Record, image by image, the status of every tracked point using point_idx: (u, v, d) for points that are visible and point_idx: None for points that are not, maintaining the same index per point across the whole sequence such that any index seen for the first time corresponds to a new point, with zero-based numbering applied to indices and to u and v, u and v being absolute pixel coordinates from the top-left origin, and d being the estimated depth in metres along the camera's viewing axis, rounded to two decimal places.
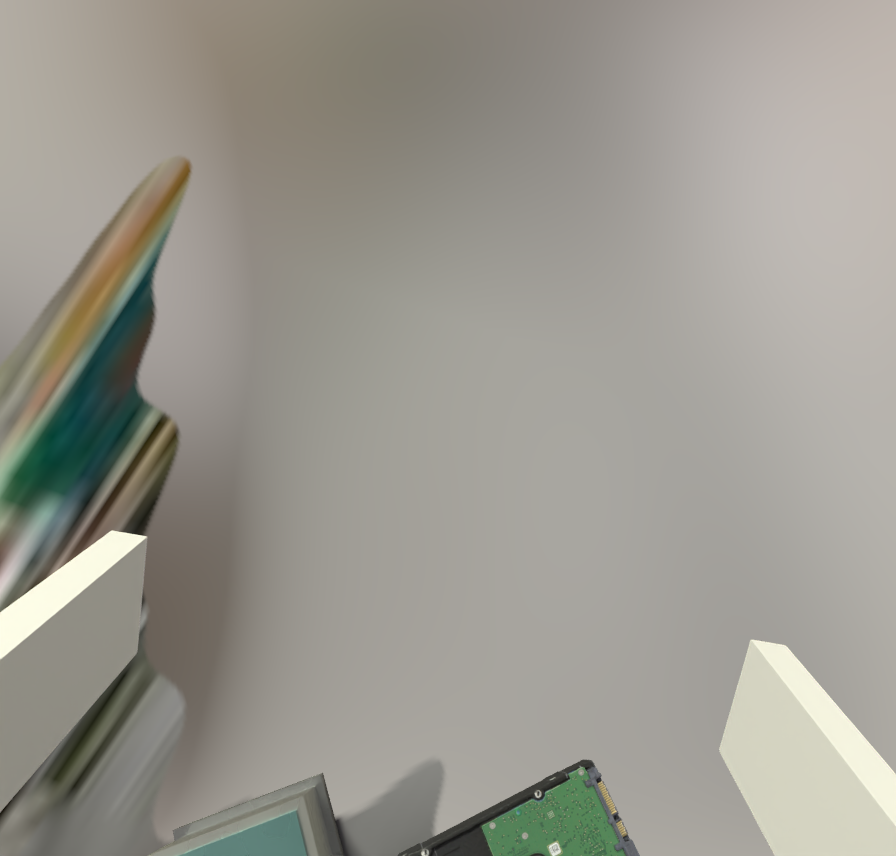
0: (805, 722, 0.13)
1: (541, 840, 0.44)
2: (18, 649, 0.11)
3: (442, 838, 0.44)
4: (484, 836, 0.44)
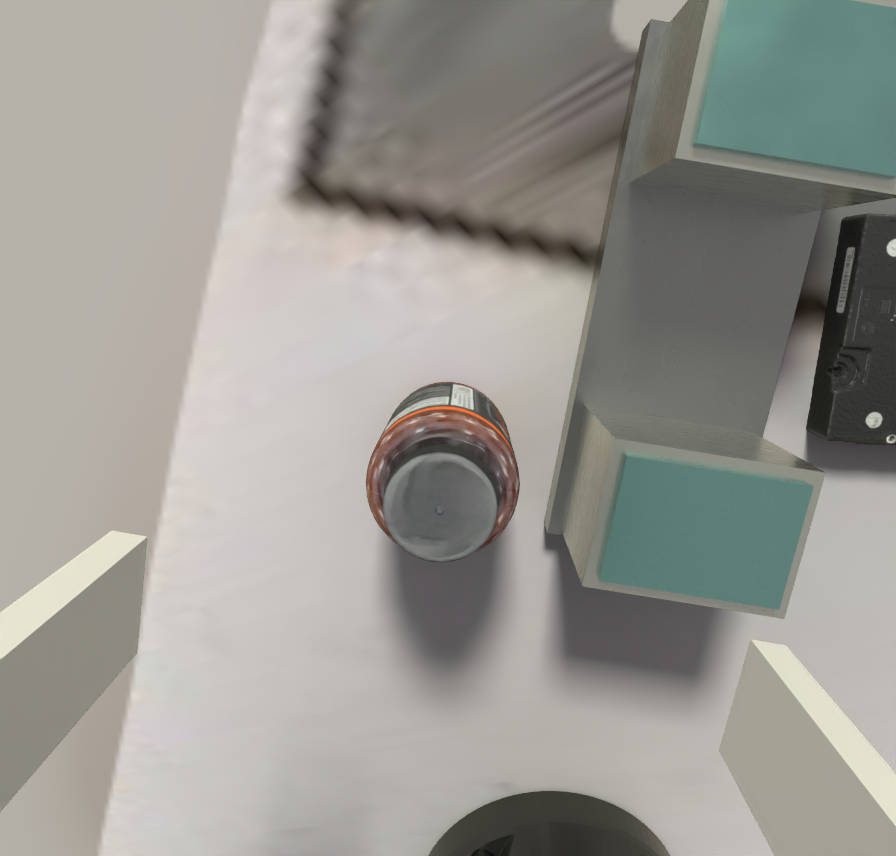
0: (805, 722, 0.13)
1: None
2: (18, 649, 0.11)
3: None
4: None
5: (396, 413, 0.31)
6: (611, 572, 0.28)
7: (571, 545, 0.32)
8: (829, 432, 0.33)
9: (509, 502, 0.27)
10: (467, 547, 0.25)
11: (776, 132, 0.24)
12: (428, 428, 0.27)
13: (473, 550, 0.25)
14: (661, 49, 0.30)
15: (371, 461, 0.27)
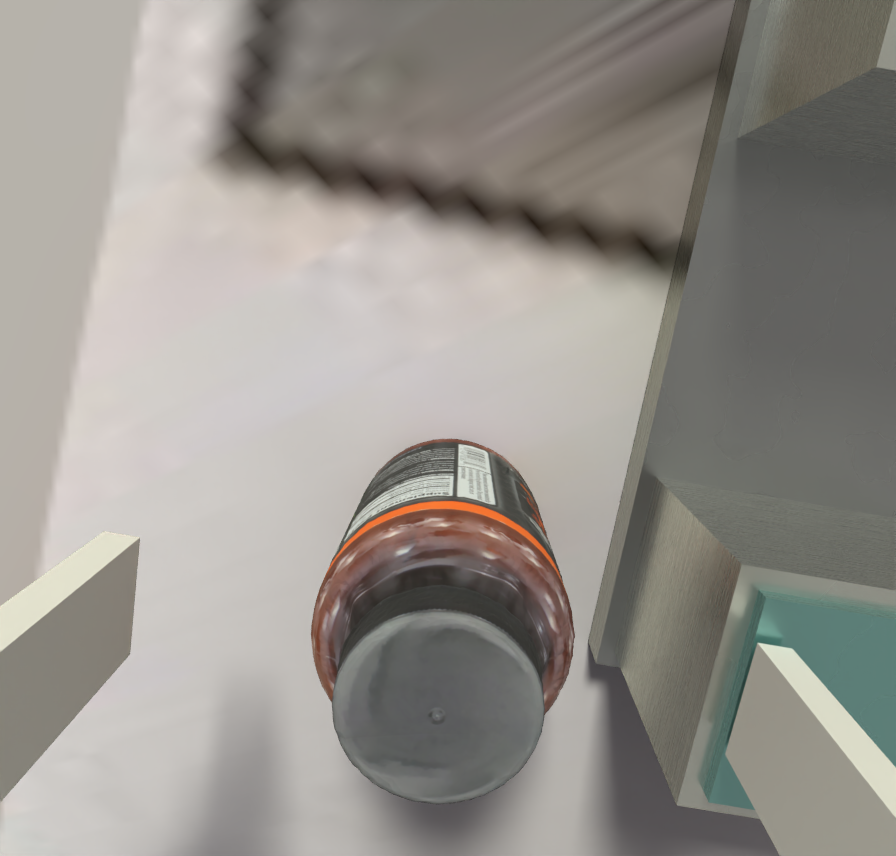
0: (814, 727, 0.13)
1: None
2: (6, 652, 0.11)
3: None
4: None
5: (369, 496, 0.20)
6: (729, 789, 0.16)
7: (643, 705, 0.20)
8: None
9: (558, 673, 0.16)
10: (487, 780, 0.14)
11: None
12: (418, 548, 0.15)
13: (498, 785, 0.14)
14: None
15: (319, 598, 0.16)
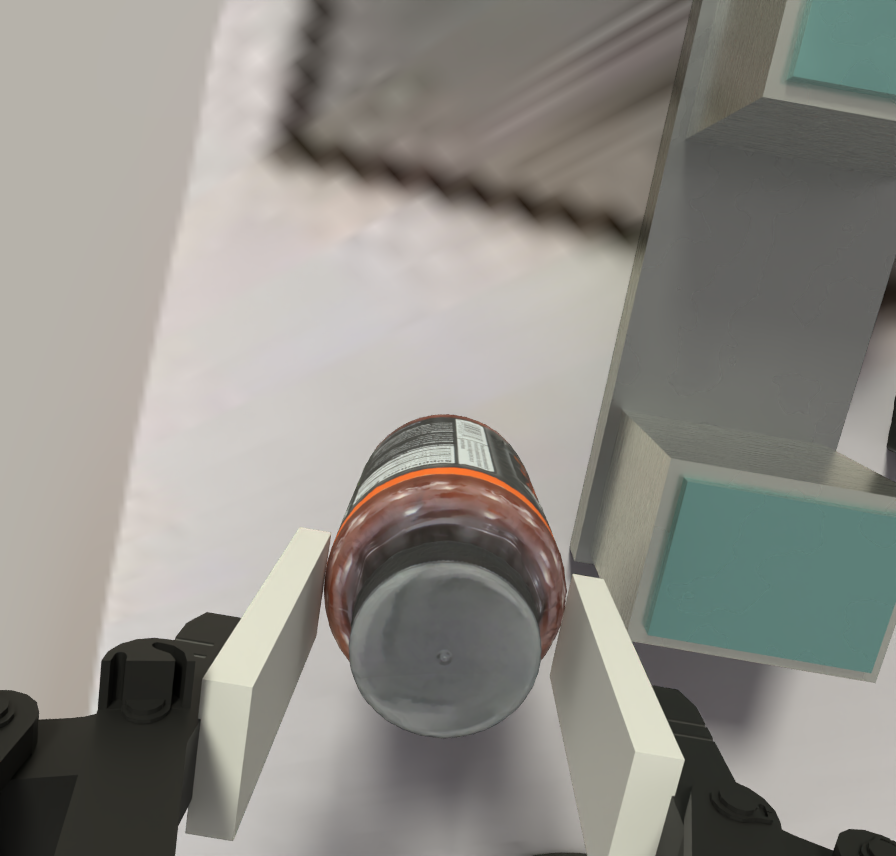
0: (589, 635, 0.15)
1: None
2: (284, 626, 0.13)
3: None
4: None
5: (373, 466, 0.21)
6: (663, 625, 0.22)
7: (607, 582, 0.26)
8: None
9: (552, 624, 0.17)
10: (489, 716, 0.15)
11: None
12: (425, 508, 0.16)
13: (499, 720, 0.15)
14: None
15: (332, 556, 0.17)
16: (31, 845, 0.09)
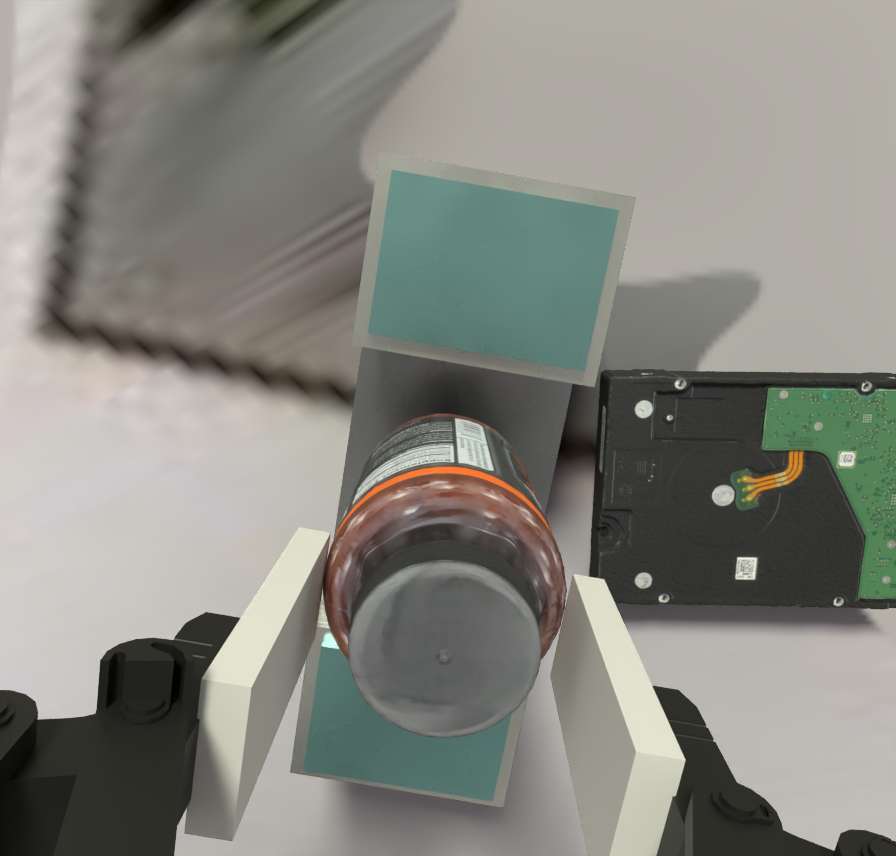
0: (590, 635, 0.15)
1: (836, 442, 0.30)
2: (284, 626, 0.13)
3: (710, 377, 0.30)
4: (764, 400, 0.30)
5: (373, 465, 0.21)
6: (314, 762, 0.26)
7: None
8: None
9: (552, 624, 0.17)
10: (489, 716, 0.15)
11: (450, 324, 0.23)
12: (425, 508, 0.16)
13: (499, 720, 0.15)
14: None
15: (331, 555, 0.17)
16: (30, 845, 0.09)
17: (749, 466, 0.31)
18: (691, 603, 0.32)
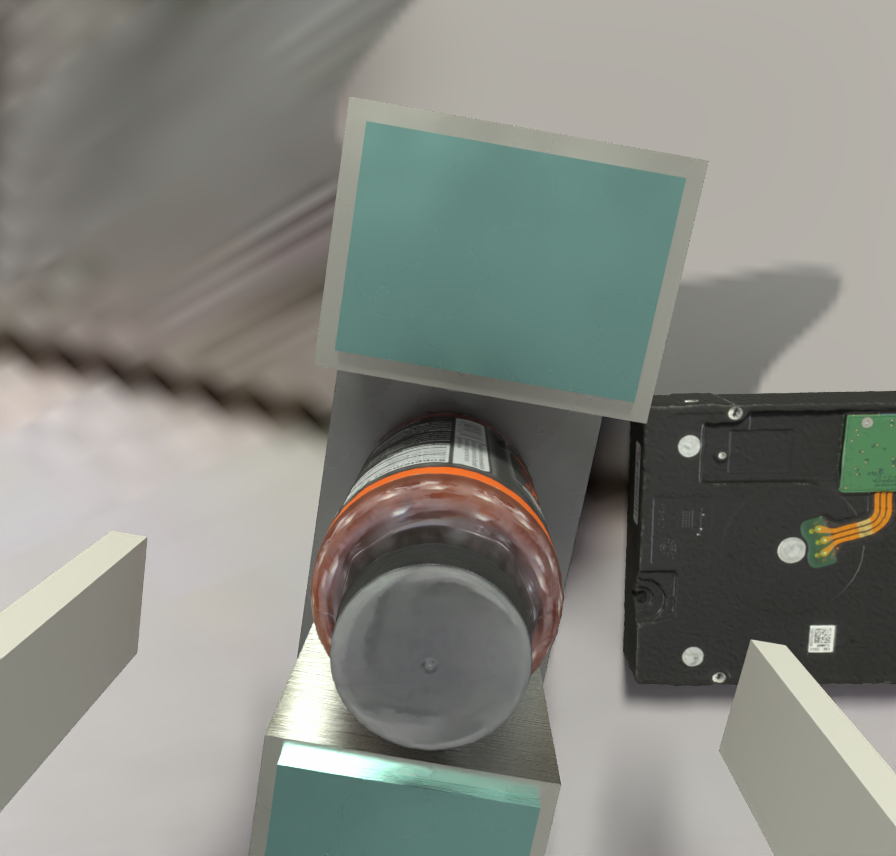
0: (805, 722, 0.13)
1: None
2: (18, 649, 0.11)
3: (773, 404, 0.24)
4: (842, 431, 0.24)
5: (368, 465, 0.21)
6: None
7: None
8: (638, 674, 0.26)
9: (547, 632, 0.16)
10: (477, 728, 0.14)
11: (449, 337, 0.17)
12: (414, 509, 0.16)
13: (487, 733, 0.14)
14: None
15: (319, 558, 0.16)
16: None
17: (824, 514, 0.24)
18: None
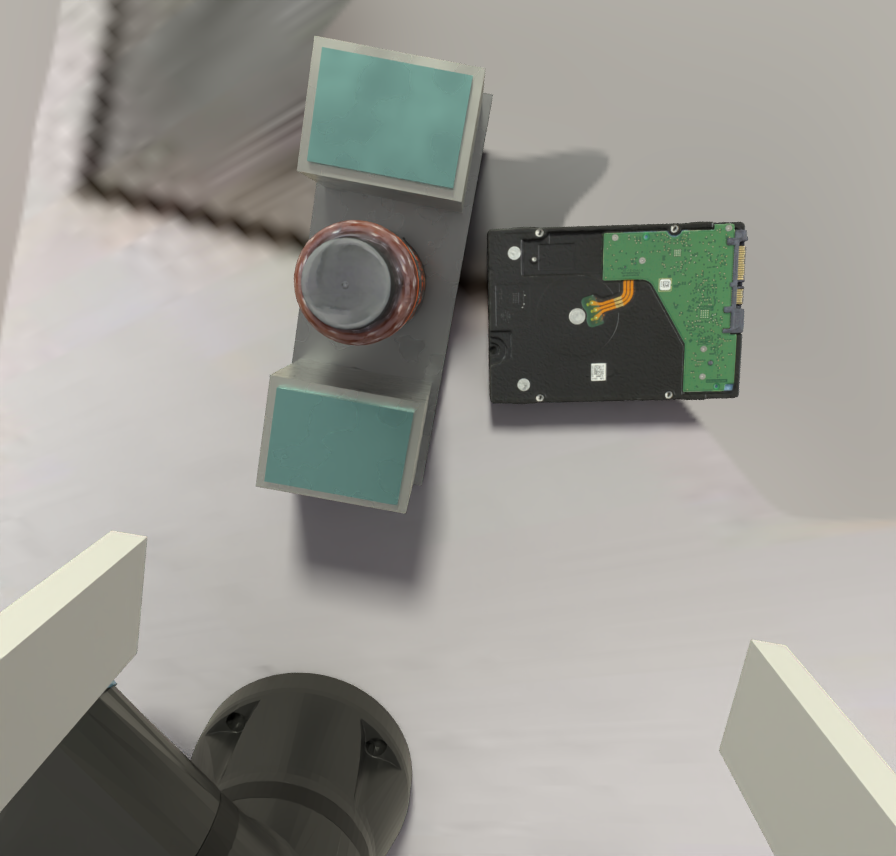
0: (805, 722, 0.13)
1: (656, 271, 0.42)
2: (18, 649, 0.11)
3: (561, 227, 0.41)
4: (602, 243, 0.41)
5: None
6: (272, 475, 0.38)
7: None
8: (492, 397, 0.43)
9: (407, 295, 0.34)
10: (367, 316, 0.32)
11: (362, 154, 0.34)
12: (342, 230, 0.33)
13: (371, 319, 0.32)
14: None
15: (298, 259, 0.34)
16: None
17: (594, 293, 0.42)
18: (560, 400, 0.43)
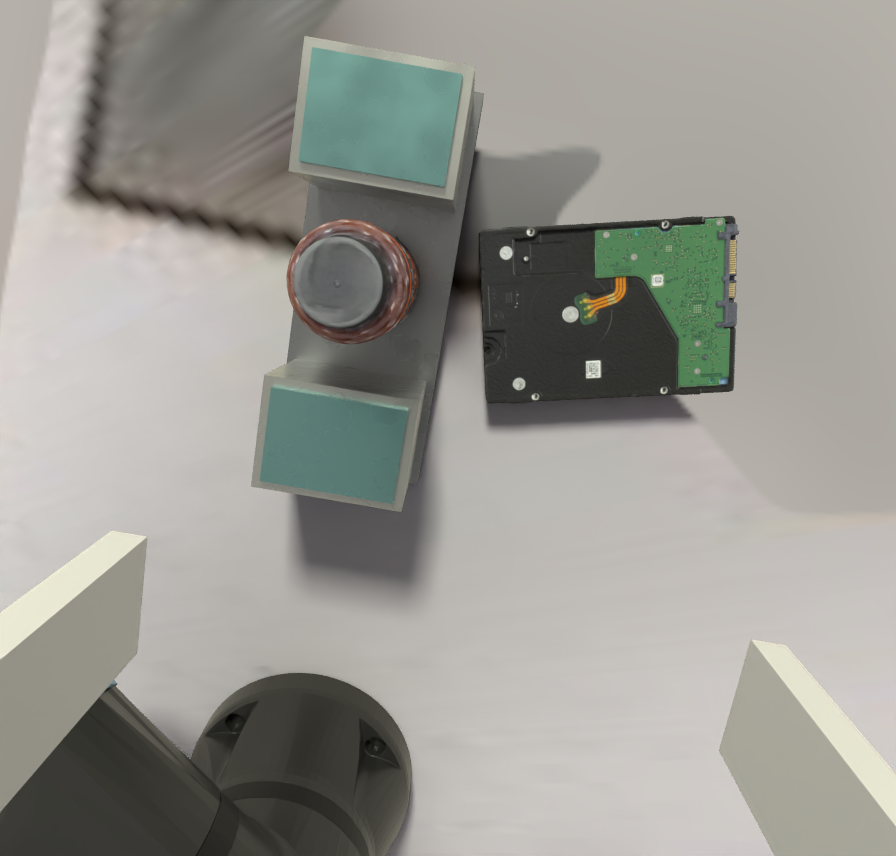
0: (805, 722, 0.13)
1: (648, 267, 0.42)
2: (18, 649, 0.11)
3: (552, 226, 0.41)
4: (593, 241, 0.42)
5: None
6: (267, 474, 0.38)
7: None
8: (488, 397, 0.43)
9: (400, 293, 0.34)
10: (359, 315, 0.32)
11: (353, 153, 0.34)
12: (334, 229, 0.33)
13: (364, 317, 0.32)
14: None
15: (290, 259, 0.34)
16: None
17: (587, 291, 0.42)
18: (555, 399, 0.43)
